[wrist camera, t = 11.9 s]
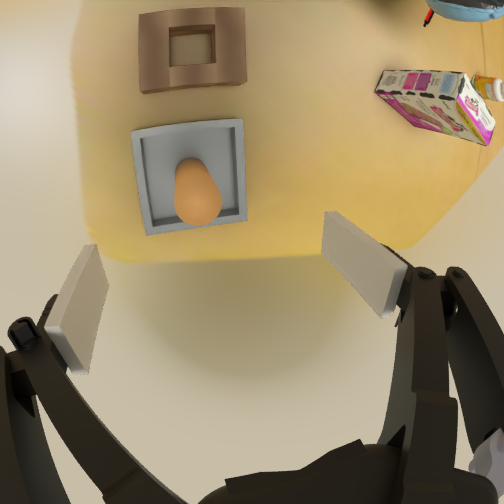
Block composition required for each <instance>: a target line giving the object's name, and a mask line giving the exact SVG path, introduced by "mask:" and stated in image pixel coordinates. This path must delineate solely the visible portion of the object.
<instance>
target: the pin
mask: <svg viewBox="0 0 504 504" xmlns="http://www.w3.org/2000/svg"><path fill="white" fill-rule="evenodd" d="M174 207H175V211H176V213H177V215H178V216H179V218H180V219H181V220H182V221H184V222H185V223H187V224H190V225H194V226H201V225H205V224H208V223H210V222H211V221H213V220H214V219H215V218H216V217H217V216H218V214H219V213H220V210H221V207H222V196H221V193H220V191H219V189H218V188H217V186H216V184H215V182H214V181H213V179H212V177H211V175H210V173H209V172H208V170H207V168H206V166H205V165H204V163H203V162H202V161H201V160H199V159H197V158H193V157H190V158H186V159H183V160H182V161H181V162H180V163H179V164H178V165H177V167H176V170H175V192H174Z"/></svg>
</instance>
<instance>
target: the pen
mask: <svg viewBox="0 0 504 504" xmlns="http://www.w3.org/2000/svg"><path fill="white" fill-rule="evenodd" d="M433 14H434V11H433V10H432V9H430V11H429V13H428V15H427V17H426V19H425V21H424V22H425V24H424V27H425V26H426V24H428V23H430V21H431V18H432V16H433Z"/></svg>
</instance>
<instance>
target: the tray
mask: <svg viewBox="0 0 504 504" xmlns="http://www.w3.org/2000/svg"><path fill="white" fill-rule="evenodd" d="M131 141H132V150H133V158H134V166H135V173H136V180H137V186H138V193H139V199H140V205H141V210H142V216H143V221H144V227H145V232H146V236H147V235H153V234H159V233H166V232H172V231H179V230H186V229H192V228H199V227H206V226H213V225H220V224H228V223H235V222H242V221H247V201H246V177H245V153H244V128H243V118H232V119H218V120H206V121H196V122H187V123H178V124H171V125H163V126H157V127H150V128H144V129H139V130H134V131H131ZM190 157H193V158H197V159H199V160H201V161H202V162H203V163H204V165H205V166H206V168H207V170H208V172H209V173H210V175H211V177H212V179H213V181H214V182H215V184H216V186H217V188H218V189H219V191H220V193H221V196H222V207H221V210H220V213H219V214H218V216H217V217H216V218H215V219H214V220H213V221H211V222H210V223H208V224H205V225H201V226H194V225H190V224H187V223H185V222H184V221H182V220H181V219H180V218H179V216H178V215H177V213H176V211H175V207H174V192H175V170H176V167H177V165H178V164H179V163H180V162H181V161H182V160H183V159H186V158H190Z"/></svg>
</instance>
